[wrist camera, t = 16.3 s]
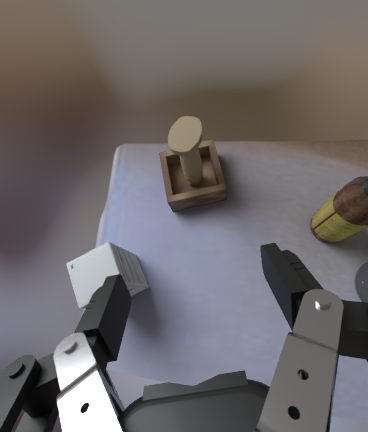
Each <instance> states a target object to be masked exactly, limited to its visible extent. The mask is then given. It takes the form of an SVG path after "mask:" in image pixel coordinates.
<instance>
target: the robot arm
mask: <svg viewBox="0 0 368 432" xmlns="http://www.w3.org/2000/svg"><path fill="white" fill-rule="evenodd" d="M260 248H261V258H262V267H263V272H264V275H265V278H266V280H267V282H268V284H269V286H270V288H271V290H272V292H273V294H274V296H275V298H276V300H277V302H278V304H279V306H280V308H281V310H282V312H283V314H284V316H285V318H286V320H287V322H288V324H289V326H290V328H291V330H292V333H291V332H289V333H288V335H287V337H286V340H285V343H284V346H283V349H282V352H281V355H280V358H279V361H278V364H277V367H276V370H275V373H274V376H273V379H272V383H271V386H270V387H269V386H267V385H265V384H263V383H261V382H258V381H254V380H249V379H247V378H246V374H245V371H238V372H232V373H226V374H219V375H217V376H215V377H213V378H211V379H209V380H206V381H204V382H202V383H200V384H198V385H195V386H188V385H181V384H175V383H162V384H156V385H149V386H145V387H144V392H143V396H142V397H140V398H139V399H137V400H135V401H134V402H133V403H132V404H130V405H129V406H128V407H127V408H126V409H125V408H124V406H123V404H122V402H121V400H120V398H119V396H118V393H117V391H116V390H115V387H114V385H113V382H112V380H111V378H110V376H109V374H108V371H107V370H106V367H107V363H108V362H111V361H117V357H118V353H119V349H120V345H121V341H122V338H123V334H124V330H125V326H126V322H127V318H128V314H129V310H130V306H131V295H130V292H129V290H128V288H127V286H126V283H125V281H124V279H123V277H122V275H121V274H117V275H112V276H107V277H106V279H105V281H104V283H103V285H102V287H99V288H98V289H97V290H96V291H95V292H94V293H93V295H92V297H91V299H90V301H89V304H88V305H87V307H86V310H85V311H84V313H83V315H82V318H81V320H80V322H79V324H78V326H77V328H76V330H75V332H74V334H72V335H70V336H68V337H66V338H65V339H64V340H63V341H62V342H61V343H60V344H59V345H58V346H57V348H56V349H55V352H54V353H52V354H50V355H48V356H46V357H44V358H42V359H39V360H36V359H35V357H34V356H33V355H25V356H22V357H20V358H18V359H17V360H15V361H14V362H13V363H11V364H10V365H9V366H8V367H7V368H6V369H5V371H4V372H3V373H2V375H1V376H0V432H11V430H12V428H13V426H14V424H15V422H16V420H17V418H18V416H19V414H20V412H21V410H22V409H23V410H24V411H25V412H24V415H23V417H22V419H21V421H20V423H19V425H18V427H17V429H16V431H15V432H52V430H53V428H54V425H55V422H56V419H57V416H58V414H60V419H61V425H62V429H63V432H329V431H330V423H331V415H332V406H333V397H334V390H335V382H336V374H337V367H338V359H339V355H342V356H348V357H354V358H361V359H366V360H367V362H368V263H366V264H364V265H363V266H362V267H361V268H360V269H359V270H358V272H357V275H356V280H355V284H356V290H357V293H358V295H359V297H360V299H361V300H362V301H363V302H353V301H345V300H341V299H340V298H339V297H338V296H337V295H335V294H334V293H332V292H330V291H327V290H324V289H323V288H322V287H321V285H320V284H319V283H318V282H317V280H316V279H315V278H314V277H313V275H312V274H311V273H310V272H309V270H308V269H307V268H306V267H305V265H304V264H303V263H302V262H301V260H300V259H299V258H298V257H297V255H295V254H294V253H292V252H290V251H288V250H285V251H281V250H280V249H279V247H278V246H277V245H276V243H271V244H266V245H261V247H260Z"/></svg>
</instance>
